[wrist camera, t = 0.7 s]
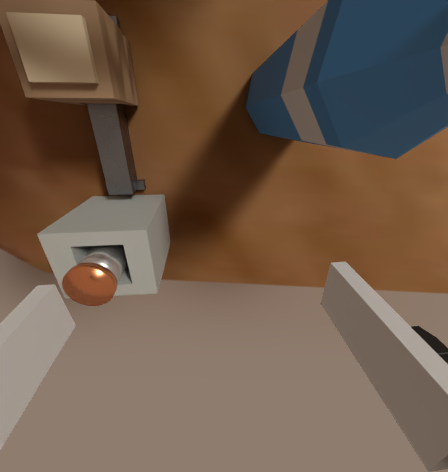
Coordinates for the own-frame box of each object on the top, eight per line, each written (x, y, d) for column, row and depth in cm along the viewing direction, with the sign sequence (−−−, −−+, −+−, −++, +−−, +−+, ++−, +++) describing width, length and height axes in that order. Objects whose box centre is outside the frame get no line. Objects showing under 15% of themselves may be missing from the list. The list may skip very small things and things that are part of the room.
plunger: (86, 236, 24) (54, 269, 19) (128, 235, 24) (108, 266, 19) (97, 269, 26) (70, 307, 21) (135, 267, 26) (119, 304, 21)
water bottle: (250, 146, 30) (388, 209, 8) (239, 62, 26) (469, -304, 4) (317, 130, 30) (645, 151, 8) (317, 43, 26) (1043, -453, 4)
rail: (68, 17, 23) (50, 3, 20) (118, 19, 23) (107, 5, 21) (109, 188, 31) (100, 195, 28) (145, 188, 31) (140, 194, 29)
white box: (89, 196, 31) (32, 234, 21) (164, 194, 32) (146, 229, 21) (103, 245, 35) (61, 299, 24) (170, 242, 36) (157, 293, 25)
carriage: (62, 39, 23) (-18, -9, 15) (130, 41, 24) (91, -4, 15) (79, 105, 26) (20, 96, 17) (140, 105, 27) (111, 97, 18)
